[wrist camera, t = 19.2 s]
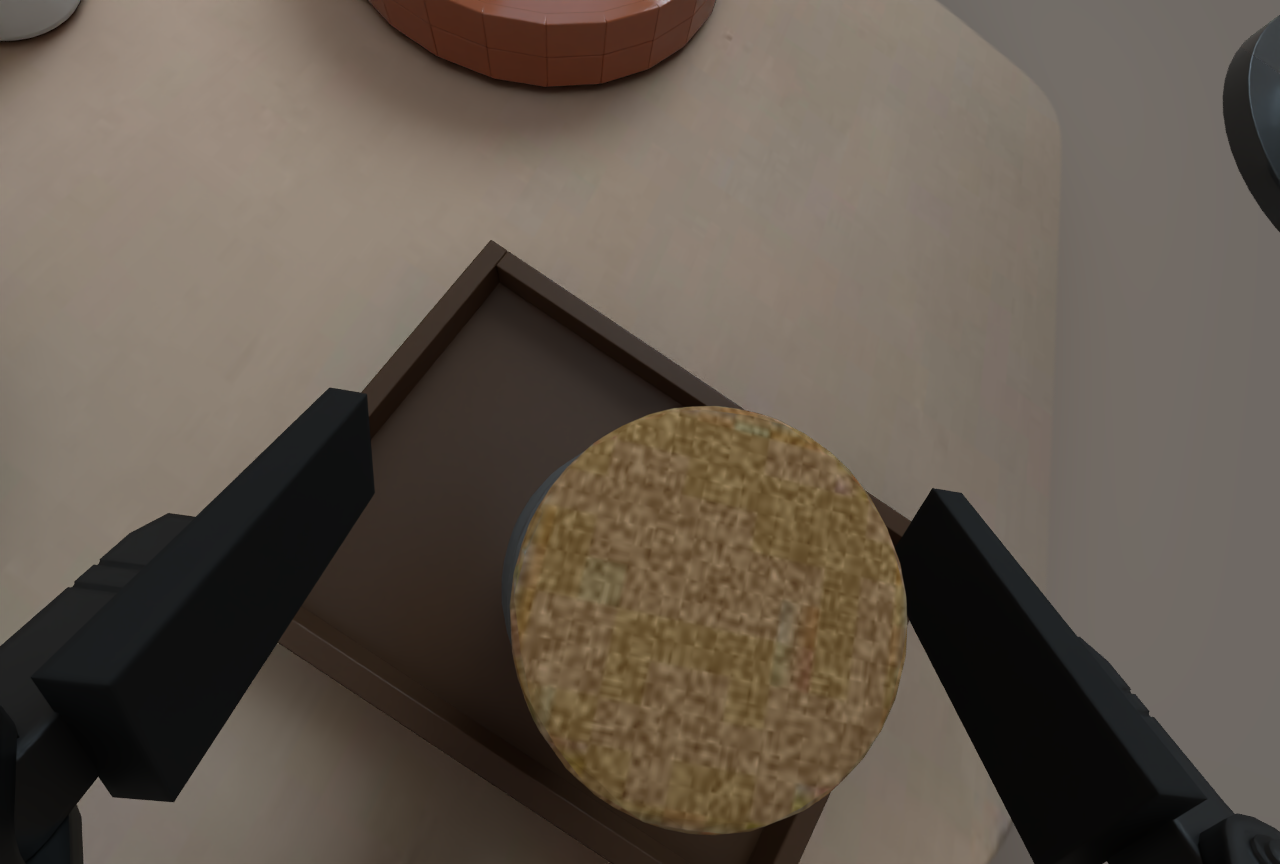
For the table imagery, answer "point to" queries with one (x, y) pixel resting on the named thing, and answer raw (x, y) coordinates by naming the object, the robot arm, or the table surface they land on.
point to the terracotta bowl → (549, 35)
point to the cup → (32, 17)
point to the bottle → (706, 619)
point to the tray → (495, 539)
